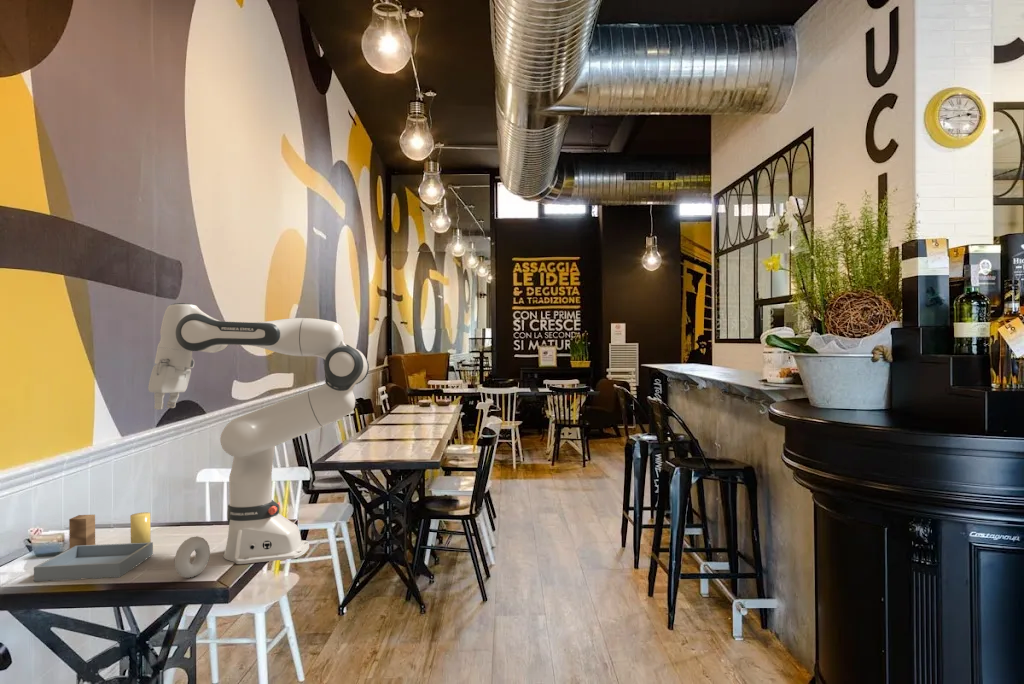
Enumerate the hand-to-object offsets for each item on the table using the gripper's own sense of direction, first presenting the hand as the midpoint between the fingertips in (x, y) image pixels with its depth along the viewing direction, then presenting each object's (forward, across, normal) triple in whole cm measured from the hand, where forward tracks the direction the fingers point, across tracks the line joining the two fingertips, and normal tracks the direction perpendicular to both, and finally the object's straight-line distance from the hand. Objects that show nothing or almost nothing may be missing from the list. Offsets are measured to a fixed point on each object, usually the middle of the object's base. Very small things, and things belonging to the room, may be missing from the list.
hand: (164, 408), depth 176 cm
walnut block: (+44, +13, +19) cm, 50 cm away
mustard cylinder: (+42, +11, +4) cm, 43 cm away
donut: (+40, -17, -19) cm, 47 cm away
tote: (+43, -3, +9) cm, 44 cm away
